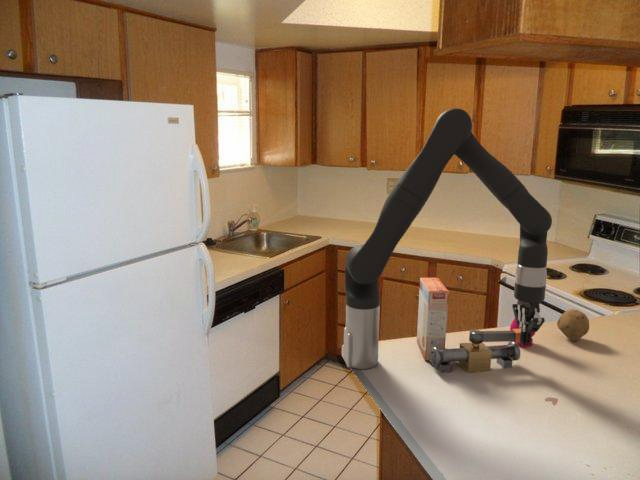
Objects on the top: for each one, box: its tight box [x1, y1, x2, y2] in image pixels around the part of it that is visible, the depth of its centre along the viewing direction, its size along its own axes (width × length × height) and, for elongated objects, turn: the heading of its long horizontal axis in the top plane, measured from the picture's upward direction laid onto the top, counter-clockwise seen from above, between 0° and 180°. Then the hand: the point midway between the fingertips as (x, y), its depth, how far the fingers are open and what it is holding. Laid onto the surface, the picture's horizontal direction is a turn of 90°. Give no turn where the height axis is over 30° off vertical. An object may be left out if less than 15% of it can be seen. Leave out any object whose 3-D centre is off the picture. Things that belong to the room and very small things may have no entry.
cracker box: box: [416, 277, 450, 361], centre depth 149 cm, size 14×6×21 cm, turn 179°
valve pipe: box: [430, 341, 521, 374], centre depth 140 cm, size 24×6×7 cm, turn 100°
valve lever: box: [468, 329, 521, 343], centre depth 139 cm, size 16×4×3 cm, turn 93°
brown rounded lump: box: [556, 308, 590, 342], centre depth 159 cm, size 9×9×10 cm
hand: (525, 343), depth 136 cm, fingers closed
